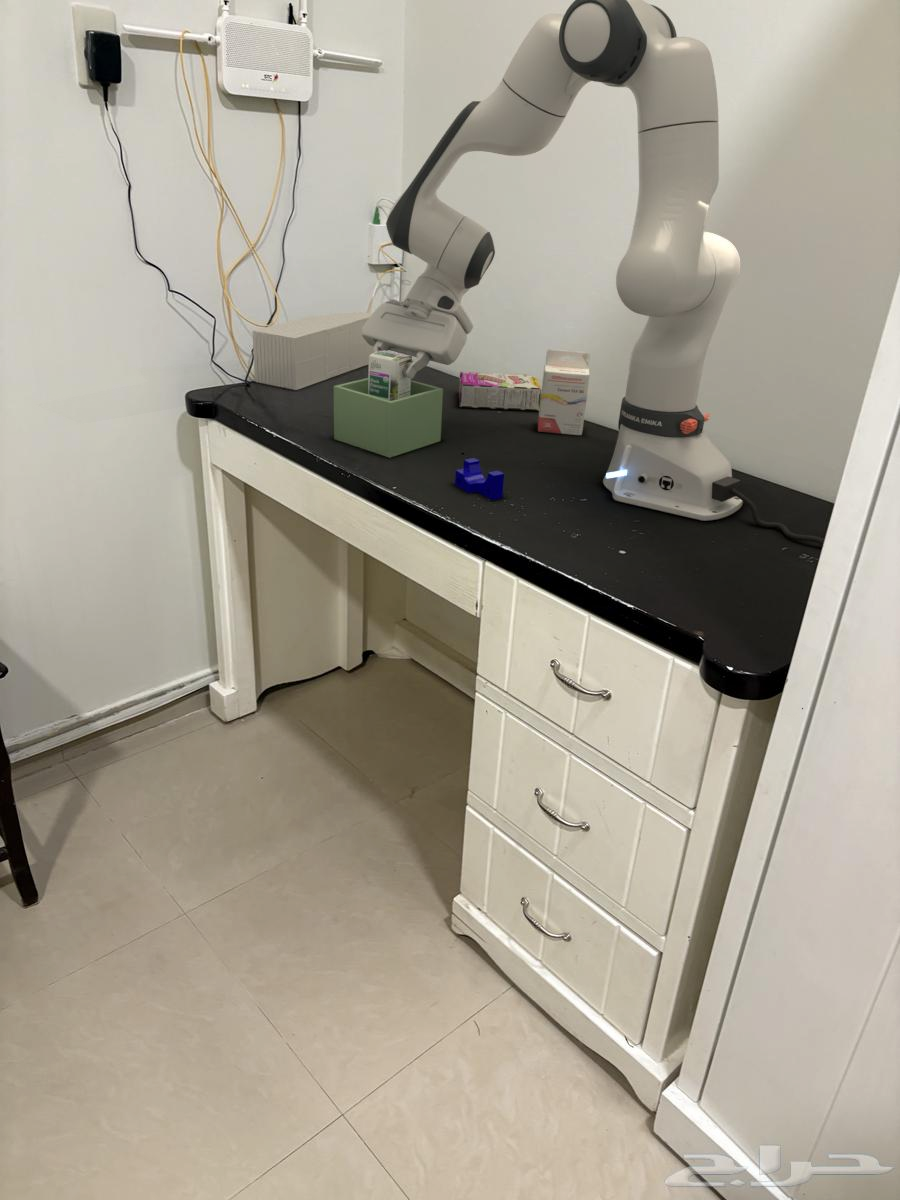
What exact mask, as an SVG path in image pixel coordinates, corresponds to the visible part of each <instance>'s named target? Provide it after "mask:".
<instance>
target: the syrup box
mask: <svg viewBox="0 0 900 1200" xmlns="http://www.w3.org/2000/svg"><path fill="white" fill-rule="evenodd" d="M412 362H413V356H412V355H406V354H402V353H398V352H394V351H390V350H388V351H386V350H384V351H378V352H375V353H373V354H371V355H369V364H368V367H367V368H368V370H367V371H368V373H367V378H368V395H371V396H375V397H378V398H382V399H385V400H388V401H393V400H397V399H401V398H404V397H408V396H410V386H411V380H412V379H410V378H407V377H405V376H404V375H403V374H402V370H403V369H404V367H405V365H406V364H409V365H410V364H411V363H412Z"/></svg>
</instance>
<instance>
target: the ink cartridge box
mask: <svg viewBox="0 0 900 1200" xmlns="http://www.w3.org/2000/svg"><path fill="white" fill-rule="evenodd" d="M567 356H569V357H570V358H574V360H570V359H562V357H563V358H564V357H567ZM590 357H591V354H590V353H589V352H588V351H576V350H565V349H554V348H553V349H552V348H548V349H547V351H546V355H545V365H544V367H543V373H542V374H543V375H542V383H541V399H540V408H539V411H538V419H537V432H538V433H539V432H541V433H551V434H562V435H570V436H571V435H573V436H582V435H583V431H584V422H585V416H586V415H585V414H586V407H587V399H588V391H589V384H590V369H589V363H590Z"/></svg>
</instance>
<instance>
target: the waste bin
mask: <svg viewBox="0 0 900 1200" xmlns="http://www.w3.org/2000/svg"><path fill="white" fill-rule="evenodd" d="M443 396H444V388H441V387H439V386H434V385H432V384H431V385H430V384H427V383H423V382H420V381H416V380H413V379H411V386H410V396H408V397H404V398H401V399H397V400H393V401H388V400H385V399H382V398H378V397H375V396H371V395H368V377H366V378H362V379H357V380H354V381H350V382H345V383H341V384H336V385H333V439H334V440H336V441H339V442H342V443H345V444H348V445H351V446H353V447H357V448H359V449H362V450H366V451H369V452H372V453H374V454H377V455H380V456H382V457H386V458H389V459H390V458H393V457H396V456H399V455H403V454H405V453H408V452H411V451H414V450H417V449H420V448H424V447H427V446H430V445H433V444H435V443H439V442H441V441H442V438H441V437H442V420H443V419H442V418H443V399H444V397H443Z"/></svg>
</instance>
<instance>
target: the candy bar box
mask: <svg viewBox="0 0 900 1200" xmlns="http://www.w3.org/2000/svg"><path fill="white" fill-rule="evenodd" d="M527 375H528V374H519V373H518V374H516V373H496V372H495V373H493V372H473V371H472V372H471V371H459V381H458V404H459V406H458V407H459V408H468V409H470V408H471V409H492V410H511V411H513V410H514V411H533V412H534V411H535V412H539V409H540V400H541V391H542V386H541V384H540V381H539V378H538V379H536V378H534V377H531V376H527Z"/></svg>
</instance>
